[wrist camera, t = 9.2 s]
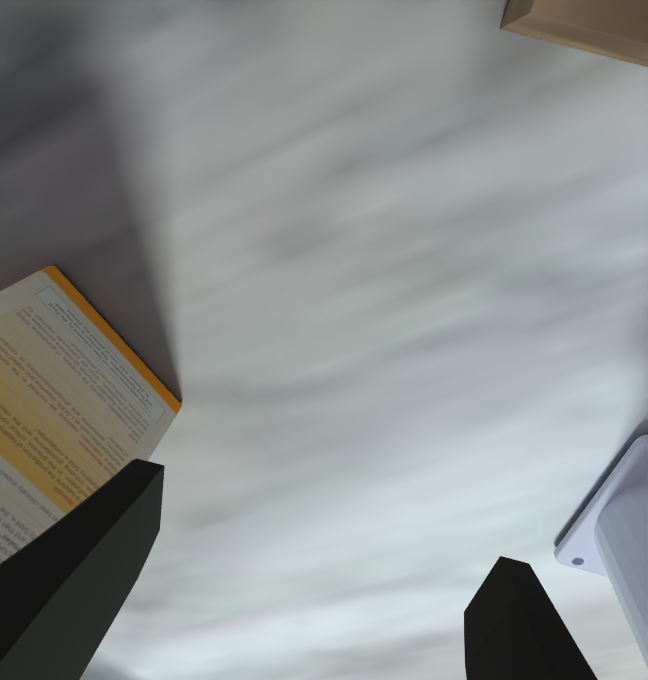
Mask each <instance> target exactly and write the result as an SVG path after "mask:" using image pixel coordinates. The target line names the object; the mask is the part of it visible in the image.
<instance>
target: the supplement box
mask: <svg viewBox="0 0 648 680" xmlns="http://www.w3.org/2000/svg"><path fill="white" fill-rule="evenodd" d="M181 406H182V405H181V404H180V402H179V401H178V400H177V399H176V398H175V397H174V396H173V394H172V393H171V392H170V391H168V390H167V389H166V387H165V386H164V385H163V384H162V383H161V382H160V381H159V380H158V378H157V377H156V376H155V375H154V374H153V373H152V372H151V371H150V370H149V369H148V368H147V366H146V365H145V364H144V363H143V362H142V361H141V360H140V358H139V357H138V356H137V355H136V354H135V353H134V352H133V351H132V350H131V349H130V348H129V346H128V345H126V344H125V342H124V341H123V340H122V339H121V338H120V337H119V336H118V334H117V333H116V332H115V331H114V330H113V329H112V328H111V327H110V326H109V325H108V323H107V322H106V321H105V320H104V319H103V318H102V317H101V316H100V315H99V314H98V313H97V312H96V310H95V309H94V308H93V307H92V306H91V305H90V304H89V303H88V302H87V301H86V300H85V298H84V297H83V296H82V295H81V294H80V293H79V292H78V291H77V289H76V288H75V287H74V286H73V285H72V284H71V283H70V282H69V281H68V279H67V278H66V277H64V276H63V274H62V273H61V272H60V271H59V270H58V269H57V268H56V267H55V266H52V265H51V266H48V267H46V268H43V269H41V270H39V271H37V272H35V273H34V274H32V275H30V276H28V277H26V278H24V279H22V280H21V281H19V282H17V283H15V284H13V285H11V286H10V287H8V288H6V289H4V290H2V291H0V563H2V562H3V561H5V560H6V559H7V558H9V557H10V556H12V555H13V554H14V553H16V552H17V551H19V550H20V549H21V548H23V547H24V546H26V545H27V544H28V543H30V542H31V541H32V540H34V539H35V538H37V537H38V536H39V535H41V534H42V533H43V532H44V531H46V530H47V529H48V528H50V527H51V526H52V525H53V524H55V523H56V522H57V521H59V520H60V519H61V518H63V517H64V516H65V515H66V514H68V513H69V512H70V511H72V510H73V509H74V508H75V507H77V506H78V505H79V504H80V503H82V502H83V501H84V500H85V499H87V498H88V497H89V496H90V495H91V494H93V493H94V492H95V491H96V490H97V489H99V488H100V487H101V486H102V485H103V484H105V483H106V482H107V481H108V480H109V479H111V478H112V477H113V476H114V475H115V474H116V473H118V472H119V471H120V470H121V469H122V468H123V467H125V466H126V465H127V464H128V463H129V462H130V461H132V460H134V459H136V458H137V459H141V460H145V461H148V459H149V458H150V456H151V455H152V453H153V452H154V450H155V448H156V447H157V445H158V443H159V442H160V440H161V439H162V437H163V436H164V434H165V433H166V431H167V430H168V428H169V426H170V425H171V423H172V421H173V419H174V418H175V417H176V415H177V413H178V412H179V410H180V408H181Z"/></svg>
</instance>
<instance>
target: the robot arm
mask: <svg viewBox="0 0 648 680" xmlns="http://www.w3.org/2000/svg"><path fill="white" fill-rule="evenodd" d="M163 479H164V465H160V464H156V463H152V462H149V461H145V460H141V459H137V458H136V459H134V460H132V461H130V462H129V463H128V464H127V465H126V466H125V467H123V468H122V469H121V470H120V471H119V472H118V473H116V474H115V475H114V476H113V477H112V478H111V479H109V480H108V481H107V482H106V483H105V484H103V485H102V486H101V487H100V488H99V489H97V490H96V491H95V492H94V493H93V494H91V495H90V496H89V497H88V498H87V499H85V500H84V501H83V502H82V503H80V504H79V505H78V506H77V507H75V508H74V509H73V510H72V511H70V512H69V513H68V514H66V515H65V516H64V517H63V518H61V519H60V520H59V521H57V522H56V523H55V524H53V525H52V526H51V527H50V528H48V529H47V530H46V531H44V532H43V533H42V534H41V535H39V536H38V537H37V538H35V539H34V540H32V541H31V542H30V543H28V544H27V545H26V546H24V547H23V548H21V549H20V550H19V551H17V552H16V553H14V554H13V555H12V556H10V557H9V558H7V559H6V560H5V561H3V562H2V563H0V680H79V679H80V677H81V676H82V674H83V672H84V671H85V669H86V667H87V665H88V664H89V662H90V660H91V658H92V657H93V655H94V653H95V652H96V650H97V648H98V646H99V645H100V643H101V641H102V640H103V638H104V636H105V634H106V633H107V631H108V629H109V627H110V626H111V624H112V622H113V621H114V619H115V617H116V615H117V614H118V612H119V610H120V608H121V607H122V605H123V603H124V602H125V600H126V598H127V596H128V595H129V593H130V591H131V589H132V588H133V586H134V584H135V582H136V581H137V579H138V577H139V575H140V572H141V570H142V568H143V566H144V564H145V562H146V559H147V557H148V555H149V553H150V551H151V548H152V546H153V544H154V541H155V539H156V537H157V535H158V532H159V530H160V519H161V505H162V492H163ZM554 555H555V558H556V561H557V562H558V563H560V564H563V565H566V566H570V567H574V568H577V569H581V570H585V571H588V572H592V573H596V574H600V575H603V576H607V577H609V579H610V582H611V584H612V586H613V589H614V591H615V593H616V596H617V598H618V600H619V603H620V605H621V607H622V610H623V612H624V614H625V617H626V619H627V621H628V624H629V626H630V628H631V631H632V633H633V635H634V638H635V640H636V643H637V645H638V647H639V650H640V652H641V654H642V657H643V659H644V661H645V664H646V666H647V668H648V434H647V435H642V436H640V437H638V438H637V439H636V440H635V441H634V442H633V444H632V445H631V446H630V448H629V449H628V451H627V452H626V453H625V455H624V456H623V457H622V459H621V460H620V461H619V463H618V464H617V466H616V467H615V468H614V470H613V471H612V472H611V474H610V475H609V477H608V478H607V479H606V481H605V482H604V483H603V485H602V486H601V487H600V489H599V490H598V492H597V493H596V494H595V496H594V497H593V498H592V500H591V501H590V502H589V504H588V505H587V507H586V508H585V509H584V511H583V512H582V513H581V515H580V516H579V518H578V519H577V520H576V522H575V523H574V524H573V526H572V527H571V528H570V530H569V531H568V533H567V534H566V535H565V537H564V538H563V539H562V541H561V542H560V544H559V545H558V546H557V548H556V549H555V551H554ZM464 644H465V668H466V676H467V680H598V679H597V678H596V676H595V674H594V673H593V671H592V669H591V668H590V666H589V665H588V663H587V661H586V660H585V658H584V656H583V655H582V653H581V651H580V650H579V648H578V646H577V645H576V643H575V641H574V640H573V638H572V636H571V634H570V633H569V631H568V629H567V628H566V626H565V624H564V623H563V621H562V619H561V617H560V616H559V614H558V612H557V611H556V609H555V607H554V605H553V604H552V602H551V600H550V598H549V597H548V595H547V593H546V592H545V590H544V588H543V586H542V585H541V583H540V581H539V580H538V578H537V576H536V574H535V573H534V571H533V569H532V568H531V566H530V564H528V563H525V562H521V561H517V560H513V559H510V558H506V557H502V556H500V557H499V559H498V560H497V562H496V563H495V565H494V567H493V568H492V570H491V571H490V573H489V574H488V576H487V577H486V579H485V580H484V582H483V584H482V585H481V587H480V588H479V590H478V591H477V593H476V594H475V596H474V597H473V599H472V601H471V602H470V604H469V605H468V607H467V608H466V610H465V611H464Z"/></svg>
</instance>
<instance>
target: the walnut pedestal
mask: <svg viewBox="0 0 648 680" xmlns="http://www.w3.org/2000/svg"><path fill="white" fill-rule="evenodd" d="M500 29H503V30H507V31H511V32H514V33H518V34H522V35H526V36H530V37H534V38H538V39H542V40H546V41H549V42H553V43H557V44H561V45H565V46H569V47H573V48H577V49H580V50H584V51H588V52H592V53H596V54H600V55H604V56H608V57H612V58H615V59H619V60H623V61H627V62H631V63H635V64H639V65H643V66H646V67H648V0H510V1H509V3H508V6H507V9H506V12H505V15H504V18H503V21H502V24H501V27H500Z"/></svg>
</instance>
